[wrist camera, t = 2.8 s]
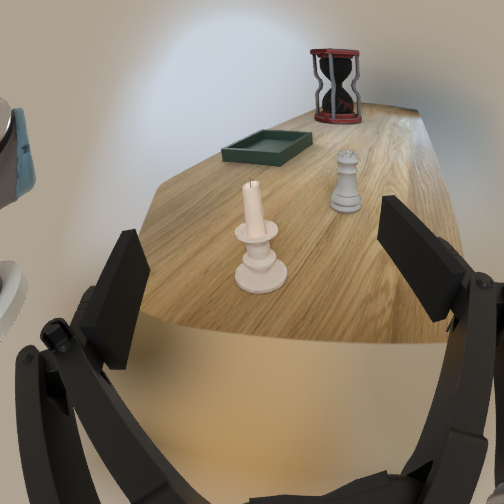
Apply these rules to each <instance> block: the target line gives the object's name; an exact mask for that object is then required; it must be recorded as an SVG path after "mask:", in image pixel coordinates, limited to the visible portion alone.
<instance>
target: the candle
mask: <svg viewBox="0 0 504 504" xmlns="http://www.w3.org/2000/svg"><path fill="white" fill-rule="evenodd" d="M249 180H250V182H248V183H246V184H245V185H244V186H243V187H242V191H243V204H244V213H245V222H244V223H242V224H241V225H239V226H238V227H237V228H236V230H235V236H236V238H237V239H238V240H240V241H242V242H245V243H246V249H247V252H245V254H244V255H243V263H242V264H241V265H239V266H238V268H237V269H236V272H235V279H236V283H237V284H238V286H239V287H240V288H241V289H243V290H245V291H247V292H250V293H255V294H263V293H269V292H272V291H274V290H276V289H278V288H280V287H281V286H282V285H283V284H284V283H285V281H286V279H287V274H288V273H287V268H286V266H285V264H284V263H283V262H281V261H280V260H278V259H276V254H275V252H274V251H273V250H272V249H270V242H269V240H270V239H272V238H273V237H275V236H276V234H277V233H278V227H277V225H276V224H275V223H273V222H271V221H268V220H264V213H263V205H262V197H261V191H260V185H259V184H260V183H259V182H258V181H251V179H249Z"/></svg>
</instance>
